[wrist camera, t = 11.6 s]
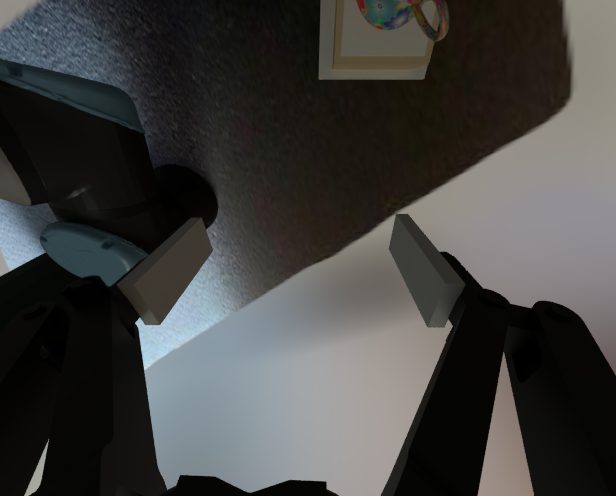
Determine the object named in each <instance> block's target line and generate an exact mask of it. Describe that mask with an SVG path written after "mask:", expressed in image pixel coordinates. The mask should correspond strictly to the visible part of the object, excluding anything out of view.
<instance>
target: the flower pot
mask: <svg viewBox="0 0 616 496" xmlns="http://www.w3.org/2000/svg"><path fill="white" fill-rule="evenodd" d="M80 278H81V277H79V276H77V275H75V274H73V273H71V272H69V271H68V270H66V269H65V268H63V267H62V266H60V265H59V264H58V263H56V262H55V261H54V260H53V259H52V258H51V257H50V256H49V255H48V254H47V253H44V254H42V255H40V256H38V257H36V258H34V259H32V260H30V261H29V262H27V263H25V264H23V265H21V266H19V267H17V268H15V269H14V270H12V271H10V272H8V273H6V274H4V275H2V276H1V277H0V332H1V331H2V330H3V329H4V328H5V326H6V325H7V324H8V323H9V322H10V321H11V319H12V318H13V317H14V316H15V315H17V314H18V313H19V312H21V311H22V310H24V309H25V308H26V307H28V306H31V305H33V304H35V303H39V302H42V301H48V300H52V301H55V302H56V303H57V304H58V305H59V306H60V307H65V306H70V305H71V304H70V303H69V302H68V300H67V299H66V298H65V297H64V296H63V295H62V294H61V293H60V292H61V291H62V289H63V288H64V287H66V286H67V285H68V284H70V283H72V282H73V281H75V280H78V279H80ZM107 287H108V288H109V287H110V286H107ZM45 354H46V351H45V350H44V349H42V348H41V349H40V357H42V358H43V357H44V356H45Z"/></svg>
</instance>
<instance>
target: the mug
mask: <svg viewBox="0 0 616 496" xmlns="http://www.w3.org/2000/svg"><path fill="white" fill-rule="evenodd" d="M356 1H357V4H358V7H359V10H360V12H361V14H362V15H363V17H364V18H365V20H366V21H367V22H368V23H369V24H371V25H372V26H373V27H375V28H378V29H381V30H393V29H396V28H399V27H401V26H403V25H405V24H406V23H408V22H409V21H410V20H411V19H412V18H414V17H415V19H416V21H417V23H418V25H419V26H420V28H421V30H422V31H423V32H424V34H425V35H426V36H427V37H428V38H429V39H431V40H432V41H439V40H441V39H442V38H443V37H445V35H446V34H447V32H448V28H449V11H448V6H447V2H446V0H432V1H433V2H434V4H435V6H436V8H437V11H438V15H439V20H440V32H439V33H438V32H437V31H435V30H434V29H433V28H432V27H431V25H430V24H429V23H428V21H427V19H426V17H425V16H424V13H423V11H422V9H421V8H422V7H423V5H424V3H425V2H428V1H431V0H356Z"/></svg>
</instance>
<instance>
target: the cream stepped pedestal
mask: <svg viewBox="0 0 616 496" xmlns="http://www.w3.org/2000/svg"><path fill="white" fill-rule="evenodd" d="M421 9H422V11H423V13H424V16H425V17H426V19H427V21H428V23H429V24H430V25H431V27H432V28H433V29H434V30H435V31H437V28H438V24H439V15H438V11H437V8H436V6H435V4H434V2H433V1H432V0H431V1H428V2H425V3H424V5H423V7H422V8H421ZM433 45H434V41H432V40H431V39H429V38H428V37H427V36H426V35H425V34H424V32H423V31H422V30H421V28H420V26H419V25H418V23H417V21H416V19H415V17H414V18H412V19H411V20H410V21H409V22H408V23H406V24H405V25H403V26H401V27H399V28H396V29H393V30H381V29H378V28H375V27H373V26H372V25H371V24H369V23H368V22H367V21H366V20H365V18H364V17H363V15H362V14H361V12H360V10H359V7H358V4H357V1H356V0H321V12H320V51H319V79H424V77H425V73H426V69H427V65H428V64H429V61H430V57H431V53H432V49H433Z"/></svg>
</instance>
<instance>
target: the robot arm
mask: <svg viewBox="0 0 616 496" xmlns="http://www.w3.org/2000/svg"><path fill="white" fill-rule="evenodd" d="M144 134H146V133H145V130H144V129H143V128H142V126H141V123H140V120H139V117H138V114H137V110H136V107H135V104H134V102H133V101H132V99H131V98H130V97H129V95H128V94H127V93H125V92H124V91H123V90H121V89H119V88H117V87H115V86H112V85H108V84H105V83H101V82H97V81H93V80H89V79H85V78H81V77H77V76H73V75H69V74H64V73H60V72H56V71H51V70H47V69H43V68H39V67H34V66H30V65H25V64H20V63H16V62H12V61H7V60H3V59H0V198H1V199H4V200H7V201H10V202H13V203H16V204H19V205H23V206H32V205H37V204H43V203H48V204H49V206H50V208H51V209H52V211H53V213H54V215H55V216H56V218H57V220H58V222H54V223H51V224H50V225H48V226H47V228H46V229H45V230H43V232H42V236H41V237H40V241H41V244H42V246H43V248H44V250H45V251H46V253H47V254H48V255H49V256H50V257H51V258H52V259H53V260H54V261H55V262H56V263H58V264H59V265H60V266H62V267H63V268H65V269H66V270H68V271H69V272H71V273H73V274H75V275H77V276H79V277H81V278H80V279H78V280H75V281H73V282H72V283H70V284H68V285H67V286H66V287H64V288H63V289H62V291H61V292H60V293H61V294H62V295H63V296H64V297H65V298H66V299H67V300H68V302H69V303H70V304H71V305H70V306H65V307H60V306H59V305H58V304H57V303H56V302H55V301H52V300H48V301H42V302H39V303H35V304H33V305H31V306H28V307H26V308H25V309H24V310H22V311H21V312H19V313H18V314H17V315H15V316H14V317H13V318H12V319H11V321H10V322H9V323H8V324H7V325H6V326H5V328H4V329H3V330H2V331H1V332H0V496H24V495H25V492H26V490H27V488H28V486H29V483H30V481H31V479H32V476H33V474H34V472H35V469H36V467H37V465H38V462H39V460H40V458H41V455H42V453H43V451H44V449H45V446H46V444H47V442H48V439H49V442H48V448H47V453H46V459H45V464H44V470H43V475H42V480H41V484H40V486H39V488H38V489H37V490H36V491H35V492H34V493H32V494H31V495H29V496H338V495H337V494H336V493H333V492H331V491H329V490H327V489H326V482H324V481H323V482H322V481H301V480H288V481H285V482H282V483H279V484H276V485H273V486H270V487H267V488H264V489H261V490H259V491H255V492H252V493H248V492H245V491H243V490H241V489H239V488H237V487H235V486H233V485H231V484H229V483H227V482H225V481H223V480H221V479H219V478H217V477H211V476H189V475H180V477H179V480H178V483H177V485H176V486H175V487H173V488H171V489H168V490H167V488H166V485H165V482H164V479H163V477H162V476H161V474H160V472H159V469H158V466H157V459H156V453H155V446H154V438H153V431H152V424H151V416H150V409H149V402H148V395H147V388H146V381H145V374H144V366H143V359H142V352H141V345H140V338H139V331H138V327H137V325H136V324H135V322H136V321H137V320H138V319H139V318H141V319H142V321H143V322H144V324H145V325H160V324H161V323H162V322H163V320H164V319H165V317H166V316H167V315H168V313H169V312H170V310H171V309H172V308H173V306H174V305H175V303H176V302H177V301H178V299H179V298H180V296H181V295H182V294H183V292H184V291H185V289H186V288H187V287H188V285H189V284H190V282H191V281H192V280H193V278H194V277H195V275H196V274H197V273H198V271H199V270H200V268H201V267H202V265H203V264H204V263H205V261H206V260H207V258H208V257H209V256H210V254H211V253H212V251H213V249H212V246H211V243H210V240H209V237H208V234H207V231H206V229H208V228H209V227H210V226H211V224H212V223H213V222H214V221H215V219H216V216H217V212H218V205H217V200H216V197H215V195H214V193H213V191H212V189H211V187H210V186H209V185H208V183H207V182H206V181H205V180H204V179H203V178H202V177H201V176H199V175H198V174H197V173H195V172H194V171H192V170H190V169H188V168H186V167H183V166H180V165H174V164H168V165H162V166H159V167H157V168H154V169H153V166H152V162H151V158H150V154H149V150H148V146H147V142H146V139H145V135H144ZM389 250H390V252H391V254H392V256H393V258H394V260H395V262H396V264H397V266H398V268H399V270H400V273H401V275H402V277H403V279H404V281H405V282H406V285H407V287H408V289H409V291H410V293H411V295H412V297H413V299H414V301H415V303H416V305H417V307H418V309H419V311H420V313H421V315H422V317H423V319H424V321H425V323H426V325H427V327H445V325H446V323H447V321H448V319H449V321H450V322H451V324H452V325H453V327H452V329H451V331H450V333H449V335H448V337H447V339H446V343H445V346H444V348H443V350H442V353H441V355H440V358H439V360H438V362H437V365H436V367H435V370H434V372H433V375H432V377H431V379H430V382H429V384H428V386H427V389H426V391H425V393H424V396H423V399H422V401H421V404H420V405H419V408H418V410H417V413H416V415H415V417H414V420H413V423H412V425H411V427H410V429H409V432H408V434H407V437H406V439H405V441H404V444H403V446H402V449H401V451H400V453H399V456H398V458H397V461H396V463H395V465H394V468H393V470H392V473H391V475H390V477H389V479H388V482H387V484H386V486H385V488H384V490H383V492H382V494H381V496H477V495H478V489H479V484H480V479H481V473H482V468H483V462H484V456H485V451H486V445H487V440H488V434H489V429H490V423H491V417H492V412H493V406H494V401H495V395H496V390H497V383H498V378H499V372H500V367H501V362H502V356H503V352H504V353H505V358H506V363H507V368H508V372H509V377H510V382H511V387H512V392H513V396H514V400H515V406H516V411H517V415H518V420H519V425H520V429H521V434H522V439H523V444H524V449H525V453H526V458H527V463H528V468H529V473H530V477H531V482H532V487H533V492H534V496H616V375H615V373H614V372H613V370H612V368H611V367H610V365H609V363H608V362H607V360H606V359H605V357H604V355H603V353H602V352H601V350H600V348H599V347H598V345H597V343H596V342H595V340H594V338H593V337H592V335H591V333H590V331H589V330H588V328H587V326H586V325H585V323H584V321H583V320H582V319H581V318H580V317H579V316H578V315H577V314H576V313H575V312H573V311H572V310H570V309H569V308H567V307H565V306H563V305H560V304H557V303H554V302H549V301H538V302H536V303H535V304H534V305H533V307H532V308H527V307H522V306H518V305H513V304H510V303H509V301H508V300H507V299H506V298H505V297H503V296H501V294H499V293H496V292H494V291H492V290H488V289H483V288H482V287H481V286H480V285H479V283H478V282H477V281H476V280H475V279H474V278H473V277H472V276H471V274H470V273H469V272H468V271H466V269H465V268H464V267H463V266H462V265H461V263H460V262H459V261H458V260H457V259H456V258H455V257H454V256H452V255H450V254H449V253H447V252H439V251H438V250H437V249H436V247H435V246H434V245H433V244H432V243H431V241H430V240H429V239H428V238H427V237H426V235H425V234H424V233H423V232H422V231H421V229H420V228H419V227H418V226H417V225H416V223H415V222H414V221H413V220H412V218H411V217H410V216H409V215H408V214H396V217H395V222H394V227H393V232H392V237H391V241H390V246H389ZM107 286H110V287H109V288H108V287H107ZM41 348H42V349H44V350H45V351H46V354H45V356H44V357H43V358H42V357H40V349H41Z"/></svg>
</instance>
